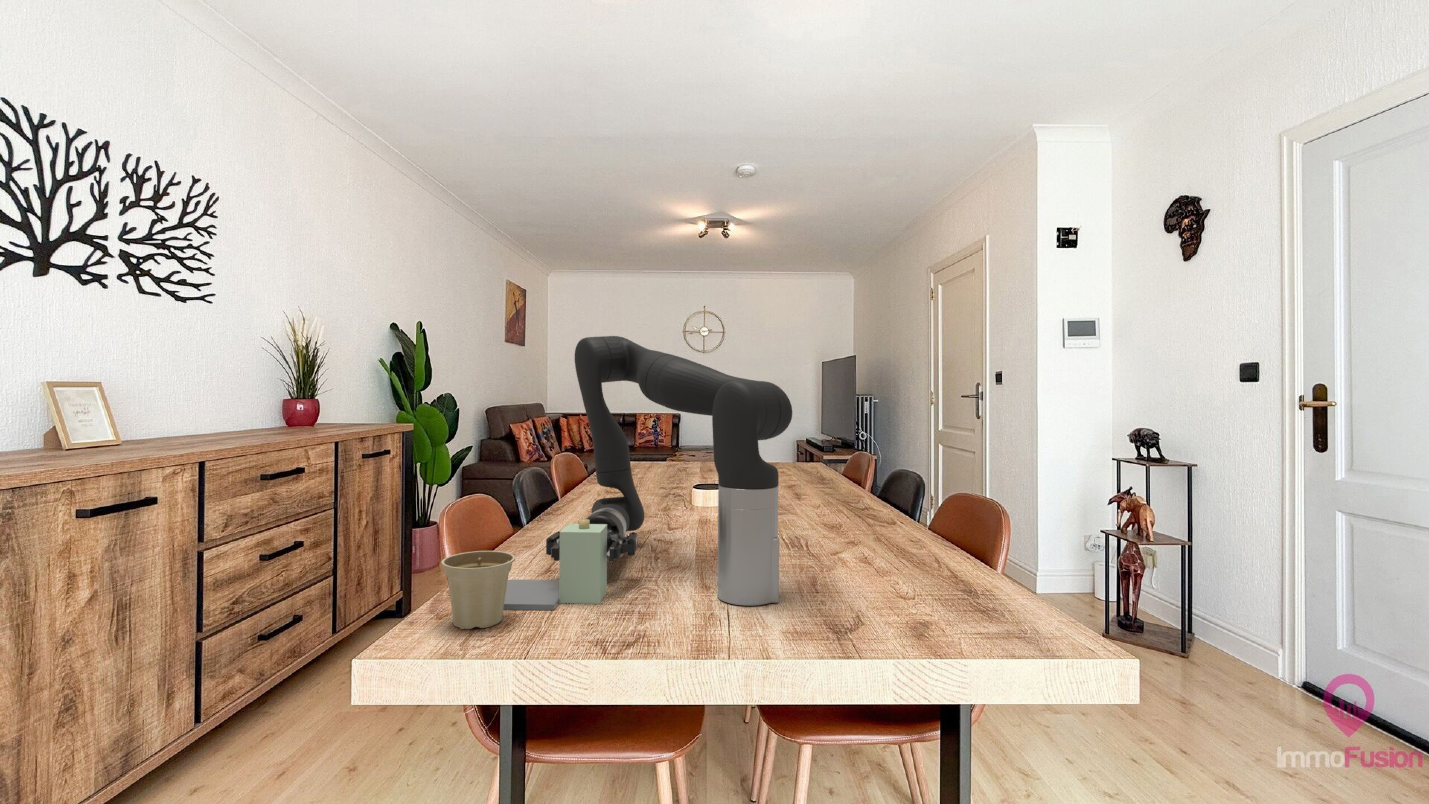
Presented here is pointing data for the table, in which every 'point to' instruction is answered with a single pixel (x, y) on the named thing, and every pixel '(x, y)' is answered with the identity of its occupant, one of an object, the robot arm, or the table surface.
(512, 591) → the slate coaster
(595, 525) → the sage green tall block
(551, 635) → the table surface
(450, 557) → the flower pot
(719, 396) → the robot arm
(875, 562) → the table surface
